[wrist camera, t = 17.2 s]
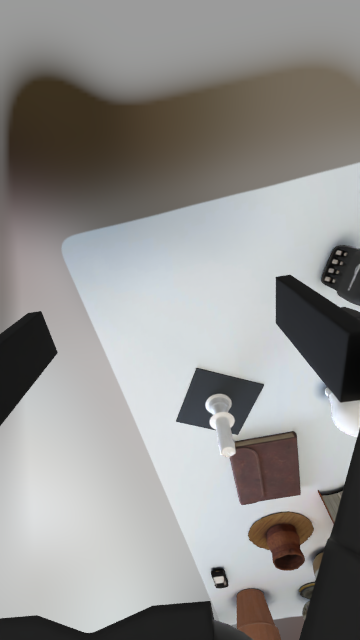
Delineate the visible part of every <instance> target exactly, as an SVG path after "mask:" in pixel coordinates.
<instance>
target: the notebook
mask: <svg viewBox="0 0 360 640" xmlns="http://www.w3.org/2000/svg"><path fill="white" fill-rule="evenodd" d="M235 450H236V453H235V454H234V455H232V456H230V461H231V465H232V470H233V474H234V479H235V483H236V488H237V492H238V497H239V501H240V503H241V505H246V504H252V503H256V502H258V501H264V500H270V499H277V498H283V497H290V496H296V495H300V493H301V492H300V477H299V463H298V448H297V435H296V433H295V432H288V433H282V434H276V435H270V436H264V437H259V438H253V439H247V440H241V441H236V442H235Z"/></svg>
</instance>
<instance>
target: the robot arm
mask: <svg viewBox="0 0 360 640" xmlns="http://www.w3.org/2000/svg"><path fill="white" fill-rule="evenodd" d="M276 324H277V325H278V326H279V327H280V329H281V330H282V331H283V332H284V334H285V335H286V336H287V337H288V339H289V340H290V341H291V342H292V344H293V345H294V346H295V347H296V349H297V350H298V351H299V352H300V353H301V355H302V356H303V357H304V358H305V360H306V361H307V362H308V363H309V365H310V366H311V367H312V368H313V370H314V371H315V372H316V373H317V375H318V376H319V377H320V378H321V380H322V381H323V382H324V383H325V384H326V386H327V387H328V388H329V389H330V391H331V392H332V393H333V394H334V396H335V397H336V398H337V399H338V401H339V402H340V403H342V402H350V401H358V400H360V312H358V311H356V310H353V309H350V308H346V307H341V308H340V307H338V306H337V305H335V304H334V303H332V302H331V301H329V300H328V299H326V298H325V297H323V296H322V295H320V294H319V293H317V292H316V291H314V290H313V289H311V288H309V287H308V286H306V285H305V284H303V283H302V282H300V281H299V280H297V279H296V278H294V277H293V276H291V275H286V276H280V277H276ZM56 354H57V350H56V347H55V345H54V342H53V340H52V338H51V335H50V332H49V330H48V327H47V325H46V322H45V320H44V317H43V315H42V312H41V311H39V312H33V313H28V314H26V315H25V316H24V317H22V318H21V319H20V320H18V321H17V322H16V323H15V324H13V325H12V326H10V327H9V328H8V329H6V330H5V331H4V332H2V333H1V334H0V425H1V424H2V423H3V422H4V420H5V419H6V418H7V417H8V415H9V414H10V413H11V411H12V410H13V409H14V408H15V406H16V405H17V404H18V403H19V401H20V400H21V399H22V397H23V396H24V395H25V393H26V392H27V391H28V390H29V389H30V387H31V386H32V385H33V383H34V382H35V381H36V380H37V378H38V377H39V376H40V375H41V373H42V372H43V371H44V369H45V368H46V367H47V366H48V364H49V363H50V362H51V361H52V359H53V358H54V356H55V355H56ZM0 640H253V639H252V638H251V637H249V636H248V635H246V634H245V633H244V632H242V631H240V630H238V629H236V628H234V627H232V626H230V625H228V624H225V623H222V622H219V621H216V620H214V617H213V612H212V607H211V603H210V601H205V602H193V603H182V604H169V605H157V606H151V607H149V608H147V609H145V610H143V611H140V612H138V613H136V614H134V615H132V616H129V617H127V618H125V619H123V620H121V621H118V622H116V623H114V624H112V625H109V626H107V627H105V628H103V629H101V630H98V631H96V632H93V633H84V632H81V631H78V630H76V629H73V628H70V627H67V626H65V625H62V624H59V623H57V622H54V621H51V620H48V619H46V618H42V617H40V616H25V617H14V618H2V619H0ZM299 640H360V429H359V433H358V437H357V440H356V444H355V448H354V452H353V455H352V459H351V463H350V466H349V470H348V474H347V477H346V481H345V485H344V489H343V492H342V496H341V500H340V503H339V507H338V511H337V515H336V518H335V522H334V526H333V529H332V533H331V536H330V538H329V539H328V541H327V543H326V546H325V549H324V553H323V556H322V560H321V563H320V567H319V570H318V574H317V578H316V581H315V585H314V588H313V592H312V596H311V599H310V603H309V607H308V610H307V614H306V617H305V621H304V625H303V628H302V632H301V636H300V639H299Z"/></svg>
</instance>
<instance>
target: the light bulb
mask: <svg viewBox="0 0 360 640" xmlns="http://www.w3.org/2000/svg"><path fill="white" fill-rule="evenodd" d="M325 394H326V396H327V397H328V398H329V401H330V403H331V416H332V420H333V422H334V424H335V425H336V426H337V427H338V429H340V430H341V431H342V432H344V433H346V434H348V435H350V436H355V437H358V433H359V429H360V400H358V401H350V402H342V403H340V402H339V401H338V399H337V398H336V397H335V396H334V394H333V393H332V392H331V391H330V389H329V388H328V387H326V388H325Z"/></svg>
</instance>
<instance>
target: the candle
mask: <svg viewBox="0 0 360 640" xmlns="http://www.w3.org/2000/svg"><path fill="white" fill-rule="evenodd" d="M231 405H232V402H231V399H230V398H229V397H228V396H226V395H224V394H215V395H212V396H210V397H209V398H208V399H207V401H206V404H205V406H206V409H207V410H208V411H209V412H210V413H212V414H213V416H212V417H211V418H210V426H211V427H212V428H213V429H215V430H217V435H218V445H219V449H220V453H221V455H222V456H225V457H230V456H232V455H234V454H235V453H236V450H235V442H234V439H233V436H232V432H231V427H232V426H233V425H234V422H235V420H234V417H233V416H232V415H231V414H230V413H228V411H229V409H230V408H231Z"/></svg>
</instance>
